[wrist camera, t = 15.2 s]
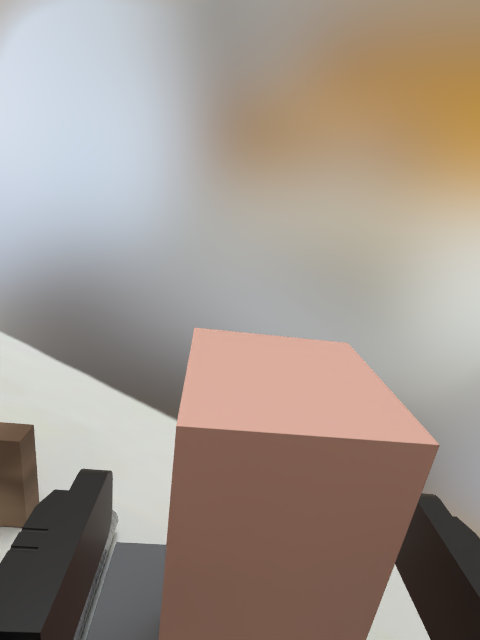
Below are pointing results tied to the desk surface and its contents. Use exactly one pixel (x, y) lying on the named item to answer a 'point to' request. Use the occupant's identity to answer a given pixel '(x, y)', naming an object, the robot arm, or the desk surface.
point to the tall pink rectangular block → (286, 491)
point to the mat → (131, 594)
